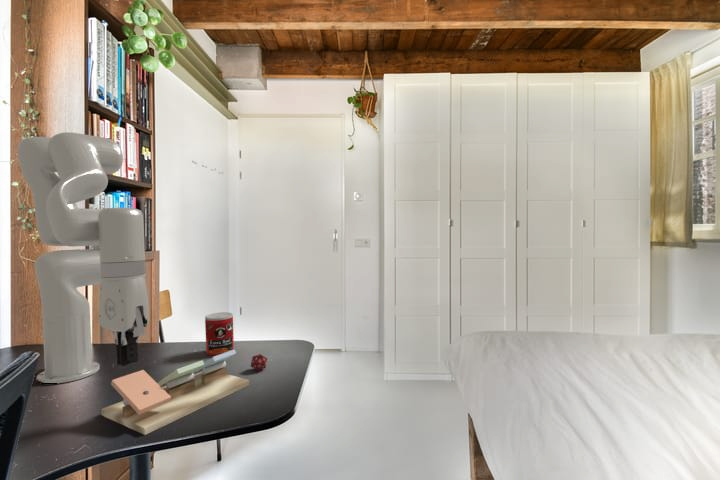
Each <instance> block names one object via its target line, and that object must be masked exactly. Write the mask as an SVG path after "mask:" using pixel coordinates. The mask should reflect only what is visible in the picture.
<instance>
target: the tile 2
mask: <svg viewBox="0 0 720 480" xmlns="http://www.w3.org/2000/svg"><path fill="white" fill-rule="evenodd" d="M204 362H205V361H204V359H202V360H199V361H196V362H193V363H191V364H188V365H185V366H182V367H179V368H176V369H175V370H174V371H172V372H170V373H169V374H168V375H166V376H165V377H163V378H162V379H160V380H159V381H158V382H156V383H157V384H158V385H160V386H161V387H164V386H166V387H167V388H168V389H169V388H172V387H174V386H177V385H179V384H182V383H184V382H187V381H189V380H192V379H194V374H193V373H192V372H194V371H195V370H197V369H198V368H200V367H201V366H203V365H204Z"/></svg>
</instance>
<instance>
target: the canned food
mask: <svg viewBox="0 0 720 480" xmlns="http://www.w3.org/2000/svg"><path fill="white" fill-rule="evenodd" d="M204 319H205V320H204V324H205V325H204V326H205V352H206V354H207V355H208V356H209V357H214V356H217V355H220V354H223V353H226V352H228V351H231V350H234V349H235V344H234V343H235V341H234V315H233V313H232V312H225V311H223V312H215V313H214V312H213V313H210V314H206V315H205V317H204Z"/></svg>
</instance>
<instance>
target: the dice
mask: <svg viewBox="0 0 720 480" xmlns="http://www.w3.org/2000/svg"><path fill="white" fill-rule="evenodd" d="M267 361H268V357H266V356H263V355H262V354H261V353H259V354H257V355H253V356H252V357H251V362H250V367H251V368H253V369H254V370H256V371H262V370H263V369H266V367H267V363H268V362H267Z"/></svg>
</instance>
